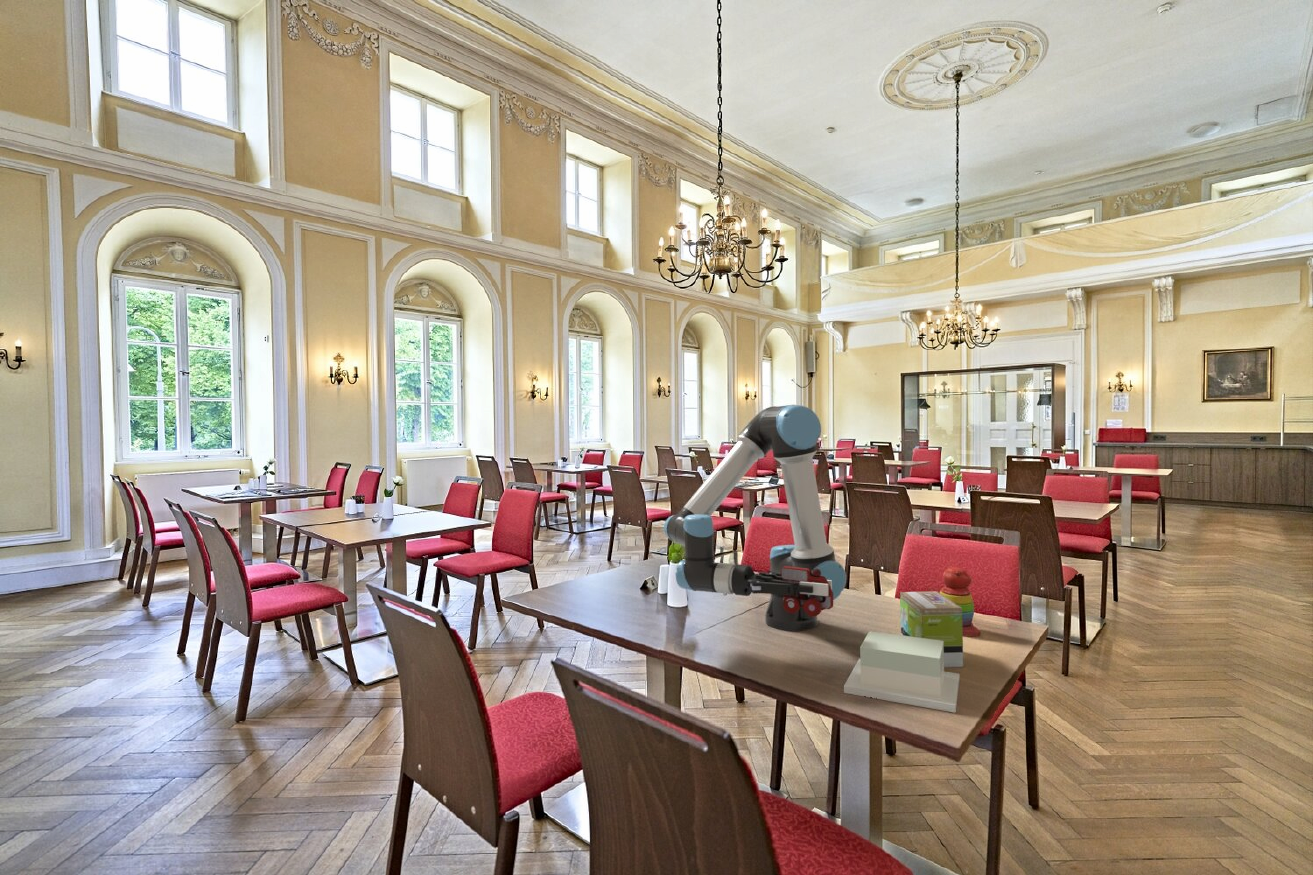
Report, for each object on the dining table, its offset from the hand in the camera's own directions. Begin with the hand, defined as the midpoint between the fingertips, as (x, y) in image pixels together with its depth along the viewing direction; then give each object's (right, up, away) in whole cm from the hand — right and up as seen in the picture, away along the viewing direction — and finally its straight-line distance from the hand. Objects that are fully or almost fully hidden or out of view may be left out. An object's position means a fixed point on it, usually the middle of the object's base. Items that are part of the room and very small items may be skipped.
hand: (829, 588), depth 146 cm
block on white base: (+14, -20, -7) cm, 26 cm away
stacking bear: (+44, -19, +30) cm, 57 cm away
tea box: (+28, -20, +11) cm, 36 cm away
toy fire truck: (-5, -6, +3) cm, 8 cm away
